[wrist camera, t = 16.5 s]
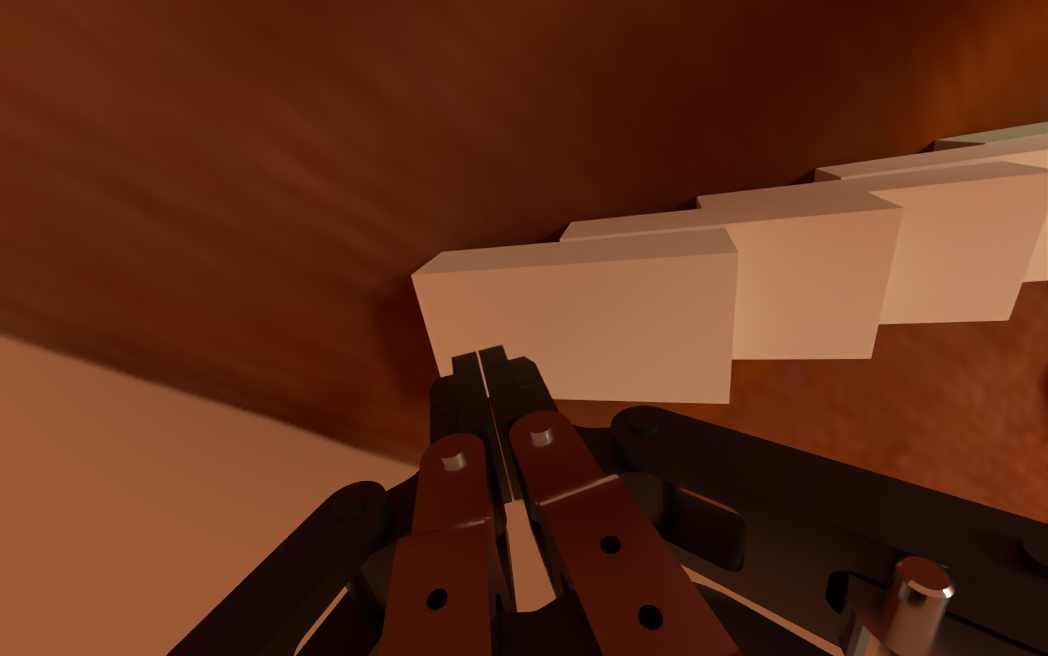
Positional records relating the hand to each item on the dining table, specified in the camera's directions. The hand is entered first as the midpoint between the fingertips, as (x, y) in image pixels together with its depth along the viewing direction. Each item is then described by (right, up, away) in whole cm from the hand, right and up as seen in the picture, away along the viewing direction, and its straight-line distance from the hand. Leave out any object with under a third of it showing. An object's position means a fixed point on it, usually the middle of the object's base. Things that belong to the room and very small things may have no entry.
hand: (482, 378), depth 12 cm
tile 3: (+9, +4, +6) cm, 11 cm away
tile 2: (+3, +3, +5) cm, 7 cm away
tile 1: (-2, +2, +4) cm, 5 cm away
